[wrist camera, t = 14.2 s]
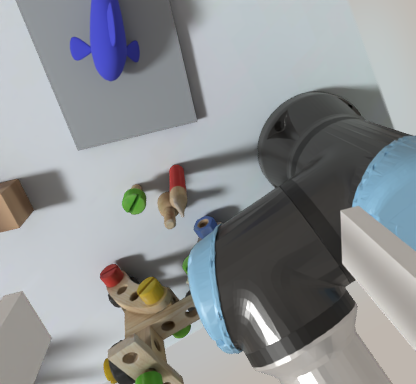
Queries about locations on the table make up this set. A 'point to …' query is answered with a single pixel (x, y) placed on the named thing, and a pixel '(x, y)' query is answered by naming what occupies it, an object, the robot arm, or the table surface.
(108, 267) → the toy construction set
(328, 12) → the table surface
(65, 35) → the slate plate
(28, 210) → the walnut block
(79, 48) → the fish toy
